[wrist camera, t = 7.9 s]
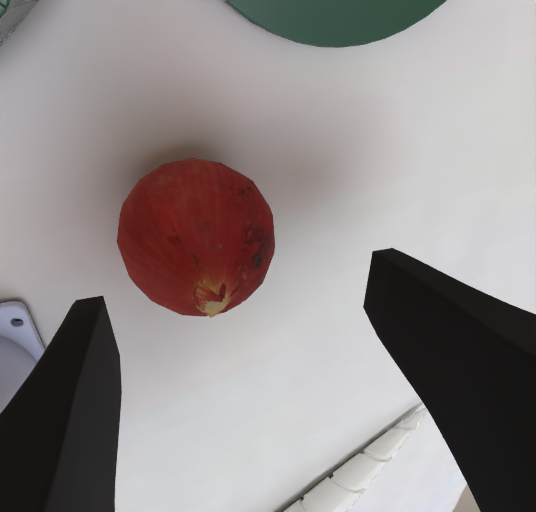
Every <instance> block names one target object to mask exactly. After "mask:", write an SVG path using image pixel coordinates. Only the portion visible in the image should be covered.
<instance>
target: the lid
mask: <svg viewBox="0 0 536 512" xmlns="http://www.w3.org/2000/svg"><path fill="white" fill-rule="evenodd" d="M224 1H225V2H226V3H227V4H228V5H229V6H231V7H232V8H233V9H235V10H236V11H237V12H239V13H240V14H241V15H243V16H244V17H245V18H247V19H248V20H249V21H251V22H252V23H254V24H256V25H258V26H260V27H262V28H264V29H265V30H267V31H269V32H271V33H273V34H275V35H278V36H281V37H283V38H286V39H289V40H292V41H295V42H297V43H302V44H307V45H313V46H318V47H349V46H357V45H364V44H368V43H371V42H375V41H378V40H382V39H385V38H387V37H389V36H392V35H394V34H396V33H398V32H401V31H403V30H405V29H407V28H408V27H410V26H412V25H413V24H415V23H417V22H418V21H420V20H422V19H423V18H425V17H426V16H428V15H429V14H430V13H431V12H433V11H434V10H435V9H437V8H438V7H439V6H440V5H442V4H443V3H444V2H445V1H446V0H224Z"/></svg>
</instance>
